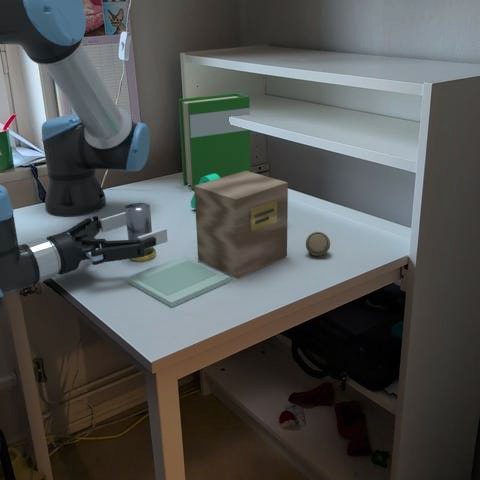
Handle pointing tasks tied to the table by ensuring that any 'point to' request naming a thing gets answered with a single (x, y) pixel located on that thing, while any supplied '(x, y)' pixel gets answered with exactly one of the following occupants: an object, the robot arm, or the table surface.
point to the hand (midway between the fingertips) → (146, 225)
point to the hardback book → (213, 136)
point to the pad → (178, 280)
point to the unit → (241, 222)
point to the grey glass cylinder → (139, 226)
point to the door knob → (317, 243)
